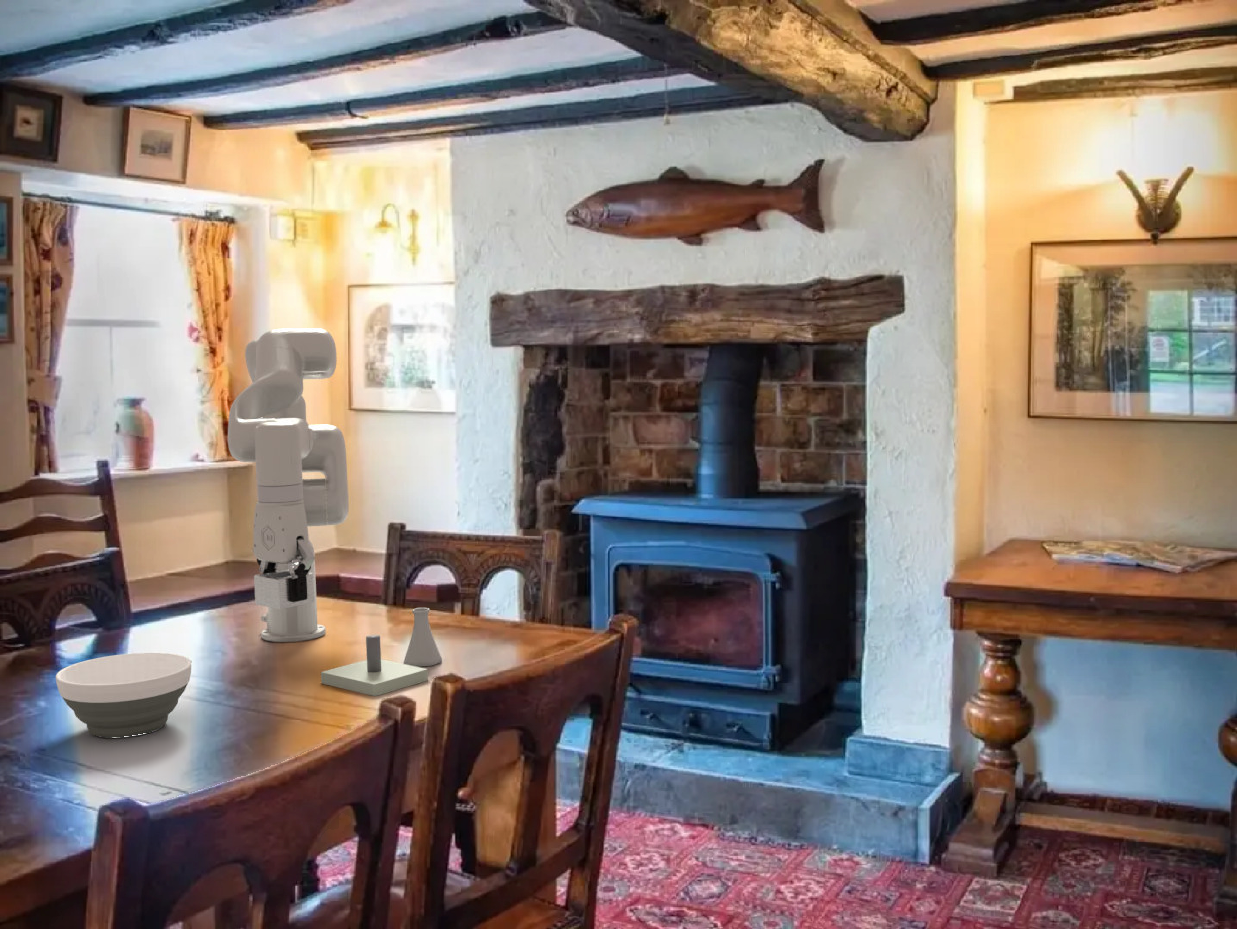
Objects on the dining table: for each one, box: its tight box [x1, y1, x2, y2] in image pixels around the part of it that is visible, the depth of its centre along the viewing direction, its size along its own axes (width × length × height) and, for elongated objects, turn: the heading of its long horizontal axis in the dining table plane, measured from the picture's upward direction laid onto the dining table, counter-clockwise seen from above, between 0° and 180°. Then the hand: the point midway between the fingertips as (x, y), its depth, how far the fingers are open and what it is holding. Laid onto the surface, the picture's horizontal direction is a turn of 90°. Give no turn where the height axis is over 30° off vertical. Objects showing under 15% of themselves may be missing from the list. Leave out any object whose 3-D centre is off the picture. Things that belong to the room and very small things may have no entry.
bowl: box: [55, 652, 192, 738], centre depth 198 cm, size 20×20×10 cm
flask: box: [403, 607, 443, 667], centre depth 234 cm, size 7×7×10 cm
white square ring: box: [253, 569, 314, 609], centre depth 218 cm, size 7×7×5 cm
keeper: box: [320, 634, 429, 697], centre depth 222 cm, size 14×12×8 cm
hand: (284, 597), depth 219 cm, fingers closed on white square ring, 7 cm apart
